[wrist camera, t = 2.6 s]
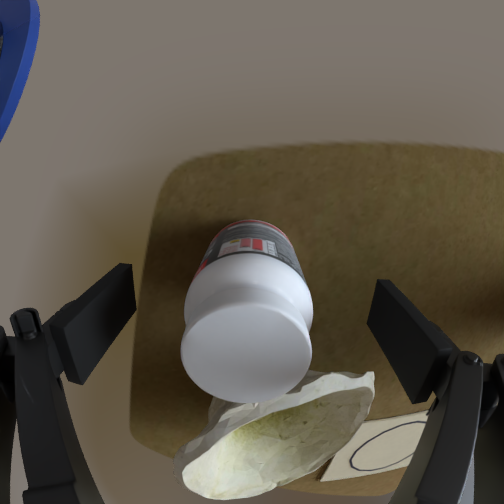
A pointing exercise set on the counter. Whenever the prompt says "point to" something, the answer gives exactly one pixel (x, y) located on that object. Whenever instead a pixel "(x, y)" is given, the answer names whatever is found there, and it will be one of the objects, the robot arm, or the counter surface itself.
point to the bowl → (274, 436)
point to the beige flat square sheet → (378, 447)
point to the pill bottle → (248, 316)
